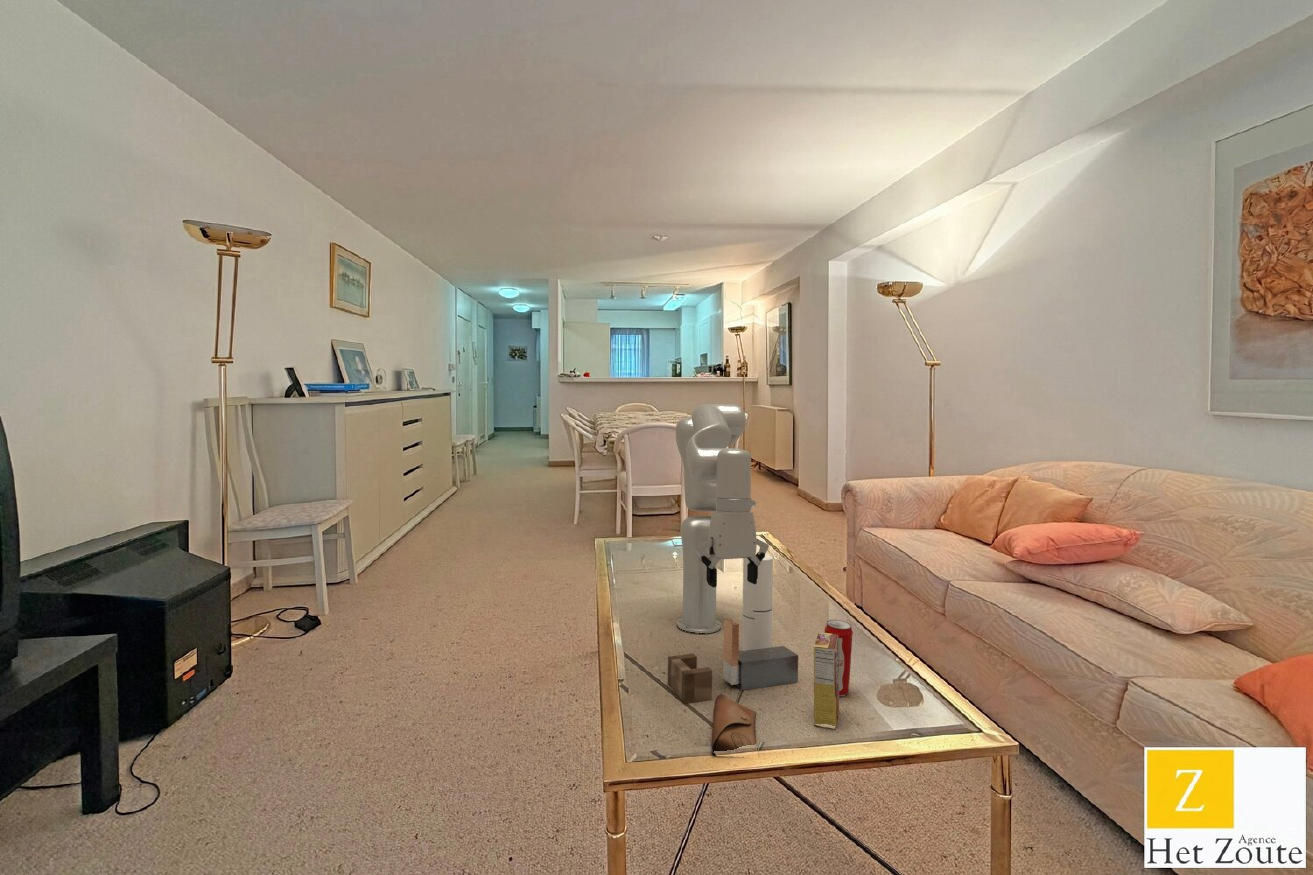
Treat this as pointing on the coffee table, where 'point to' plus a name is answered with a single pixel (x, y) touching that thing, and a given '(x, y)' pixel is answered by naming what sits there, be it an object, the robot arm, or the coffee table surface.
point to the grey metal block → (767, 667)
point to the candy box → (826, 679)
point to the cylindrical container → (757, 607)
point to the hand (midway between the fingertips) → (732, 584)
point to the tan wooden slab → (731, 652)
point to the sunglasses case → (732, 725)
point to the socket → (689, 678)
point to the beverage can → (842, 651)
